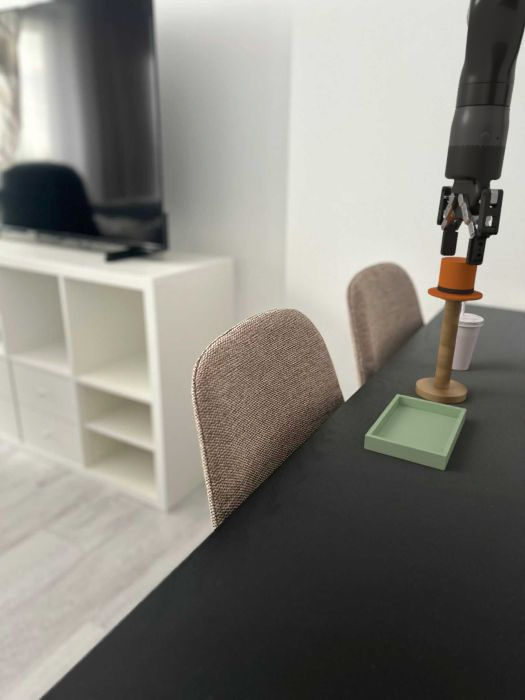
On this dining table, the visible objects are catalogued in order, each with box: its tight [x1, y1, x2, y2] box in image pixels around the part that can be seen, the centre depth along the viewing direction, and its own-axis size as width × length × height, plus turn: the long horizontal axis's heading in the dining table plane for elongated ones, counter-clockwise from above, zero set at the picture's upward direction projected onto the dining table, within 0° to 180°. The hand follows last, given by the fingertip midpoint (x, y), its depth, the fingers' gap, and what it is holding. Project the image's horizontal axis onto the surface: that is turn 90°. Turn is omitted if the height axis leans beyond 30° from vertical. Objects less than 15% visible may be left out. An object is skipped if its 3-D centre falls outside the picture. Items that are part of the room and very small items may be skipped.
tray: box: [363, 393, 468, 471], centre depth 71 cm, size 15×10×2 cm
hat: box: [427, 256, 484, 302], centre depth 78 cm, size 8×8×5 cm
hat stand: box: [414, 298, 468, 405], centre depth 82 cm, size 8×8×17 cm
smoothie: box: [452, 301, 485, 372], centre depth 93 cm, size 6×6×14 cm
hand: (459, 259), depth 77 cm, fingers open, 8 cm apart
